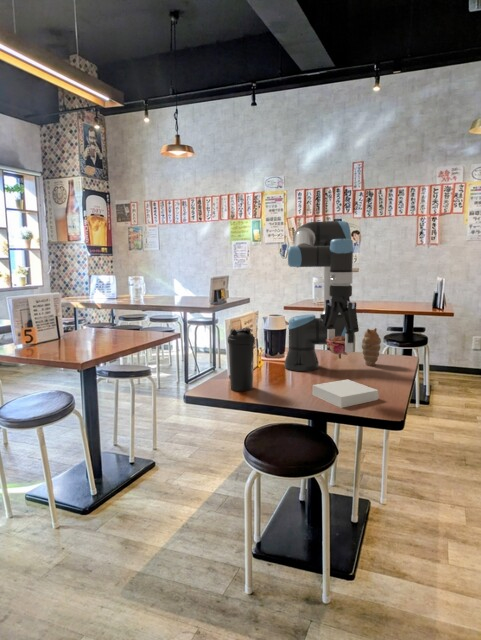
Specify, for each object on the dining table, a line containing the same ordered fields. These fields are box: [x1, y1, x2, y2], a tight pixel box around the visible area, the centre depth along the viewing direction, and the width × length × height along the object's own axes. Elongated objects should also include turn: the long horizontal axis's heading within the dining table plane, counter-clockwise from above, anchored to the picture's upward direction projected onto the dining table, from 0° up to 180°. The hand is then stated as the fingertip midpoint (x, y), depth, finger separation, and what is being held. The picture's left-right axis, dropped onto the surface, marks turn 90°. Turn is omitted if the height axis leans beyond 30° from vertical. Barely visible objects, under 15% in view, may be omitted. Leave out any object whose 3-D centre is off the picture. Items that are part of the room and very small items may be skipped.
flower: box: [326, 336, 352, 359], centre depth 157 cm, size 10×9×8 cm
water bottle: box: [227, 327, 256, 392], centre depth 172 cm, size 10×10×23 cm
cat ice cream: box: [361, 327, 382, 367], centre depth 201 cm, size 9×8×18 cm
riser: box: [312, 378, 379, 409], centre depth 159 cm, size 16×16×4 cm
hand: (339, 349), depth 157 cm, fingers closed on flower, 9 cm apart
